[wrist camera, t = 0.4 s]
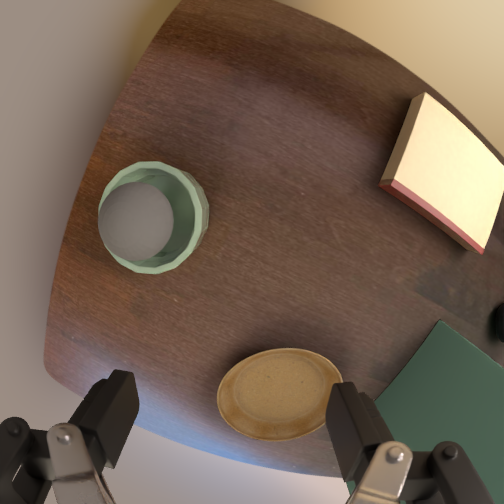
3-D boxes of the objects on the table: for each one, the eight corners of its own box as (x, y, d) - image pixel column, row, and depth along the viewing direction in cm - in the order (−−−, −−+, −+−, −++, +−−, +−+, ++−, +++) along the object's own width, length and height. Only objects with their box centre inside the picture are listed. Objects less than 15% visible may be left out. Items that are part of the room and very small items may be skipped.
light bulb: (161, 171, 27) (118, 162, 17) (203, 213, 28) (179, 224, 18) (123, 215, 28) (70, 227, 18) (162, 256, 28) (124, 287, 19)
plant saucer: (195, 393, 32) (191, 407, 30) (273, 312, 30) (276, 322, 28) (282, 441, 34) (284, 453, 32) (361, 375, 32) (367, 387, 30)
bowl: (122, 167, 27) (100, 163, 22) (212, 167, 27) (204, 161, 22) (120, 257, 29) (99, 269, 24) (207, 263, 29) (200, 277, 24)
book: (377, 185, 28) (390, 185, 25) (411, 98, 26) (425, 91, 23) (467, 250, 29) (482, 255, 26) (493, 171, 27) (508, 171, 24)
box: (409, 458, 37) (458, 555, 12) (332, 441, 35) (376, 587, 9) (493, 364, 34) (579, 442, 8) (439, 319, 31) (576, 433, 6)
